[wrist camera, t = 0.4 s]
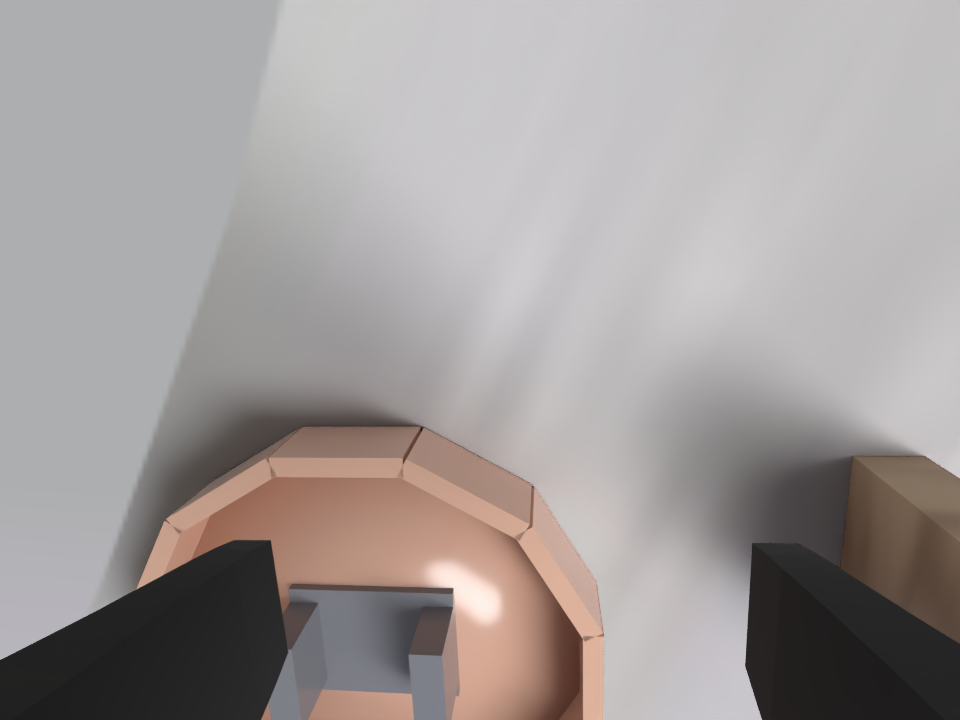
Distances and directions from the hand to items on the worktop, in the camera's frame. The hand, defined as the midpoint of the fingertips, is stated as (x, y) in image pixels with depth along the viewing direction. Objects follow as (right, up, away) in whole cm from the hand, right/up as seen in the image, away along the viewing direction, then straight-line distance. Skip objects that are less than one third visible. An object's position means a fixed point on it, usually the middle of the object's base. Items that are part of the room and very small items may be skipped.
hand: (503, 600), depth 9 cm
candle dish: (-4, -6, +12) cm, 14 cm away
